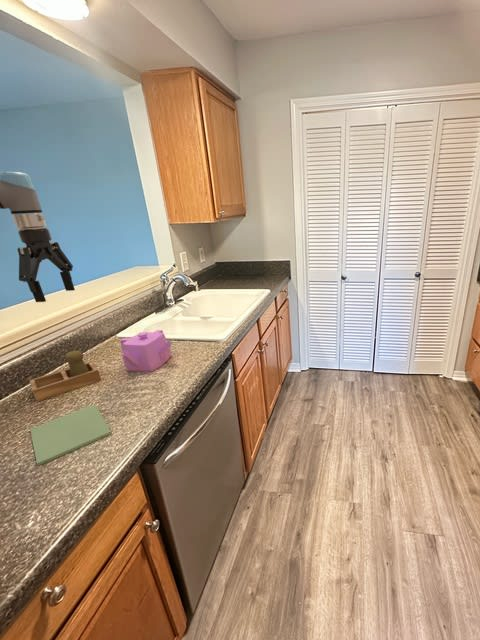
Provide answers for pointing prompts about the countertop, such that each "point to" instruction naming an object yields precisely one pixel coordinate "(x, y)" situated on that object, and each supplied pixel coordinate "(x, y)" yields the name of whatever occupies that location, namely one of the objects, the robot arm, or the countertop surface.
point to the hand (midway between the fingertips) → (56, 295)
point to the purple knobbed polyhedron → (145, 351)
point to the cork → (76, 363)
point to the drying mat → (68, 433)
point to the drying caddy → (62, 382)
